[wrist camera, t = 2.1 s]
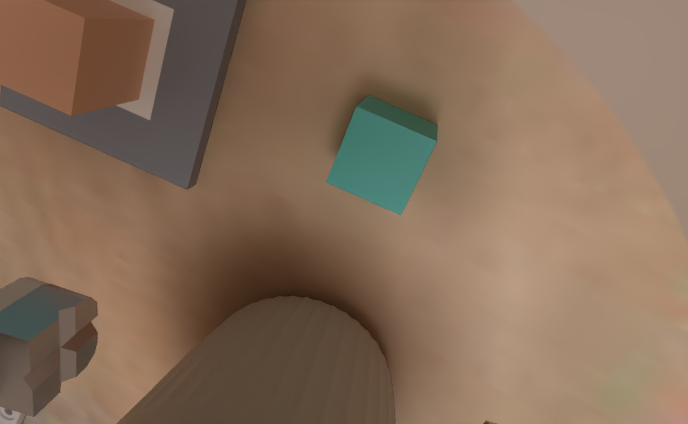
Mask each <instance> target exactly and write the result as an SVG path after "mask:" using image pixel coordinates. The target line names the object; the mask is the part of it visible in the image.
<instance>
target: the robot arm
mask: <svg viewBox="0 0 688 424" xmlns="http://www.w3.org/2000/svg"><path fill="white" fill-rule="evenodd" d="M97 315H98V310H97V301H95V300H94V299H93V298H91V297H88V296H85V295H82V294H79V293H76V292H73V291H70V290H67V289H64V288H61V287H59V286H56V285H53V284H48V283H45V282H42V281H39V280H36V279H33V278H31V277H25V278H19V279H18V280H16V281H14V282H12V283H11V284H9V285H7V286H6V287H4V288H2V289H0V424H22V422H23V420H24V417H25V415H29V416H32V417H34V416H35V415H36V414H38V413H39V412H40V411H41V410H42V409H43V408H44V407H45V406H46V405H47V404H48V403H49V402H50V401H51V400H52V399H53V398H54V397H56V396H57V395H58V394H59V393H60V388H61V382H63V381H65V380H68V379H71V378H74V377H76V376H77V375H78V374H79V373H80V372H81V371H82V370H84V369H85V368H86V367H87V365H88V363H89V362H90V360H91V358H92V356H93V355H94V353H95V349H96V346H97V340H98V332H97V331H96V329H95V327H94V326H93V324H92V322H91V321H92V320H93V319H94V318H95V317H96V316H97ZM484 424H496V423H493V422H490V421H485V423H484Z"/></svg>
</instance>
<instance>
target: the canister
mask: <svg viewBox="0 0 688 424" xmlns="http://www.w3.org/2000/svg"><path fill="white" fill-rule="evenodd" d="M117 424H396V421H395V405H394V393H393V388H392V379H391V374H390V371H389V368H388V367H387V362H386V359H385V357H384V355H383V353H382V352H381V351H380V348H379V345H378V344H377V342H376V341H375V340H374V339H373V338H372V337H371V335H370V333H369V331H368V330H366V329H364V328H363V327H362V326H361V325H360V323H359V321H357V320H355V319H353V318H351V317H350V316H349V315H348V313H347V312H343V311H341V310H339V309H338V308H336V307H335V306H334V305H329V304H326V303H324V302H323V301H321V300H313V299H310V298H309V297H296V296H294V295H292V296H288V297H283V296H276V297H274V298H271V299H270V298H265V299H262V300H260V301H258V302H255V303H251V304H249V305H247V306H245V307H244V308H242V309H240V310H238V311H236V312H235V313H233V314H232V315H230V316H229V317H228V318H227V319H226V320H225V321H224V322H222V323H221V324H220V325H219V326H218V327H216V328H215V329H214V330H213V331H212V332H211V333H210V334H209V335H208V336H207V337H206V338H204V339H203V340H202V341H201V342H200V343H199V344H198V345H197V346H196V347H195V348H194V349H193V350H191V351H190V352H189V353H188V354H187V355H186V356H185V357H184V358H183V359H182V360H181V361H180V362H179V363H178V364H177V365H176V366H175V367H174V368H173V369H172V370H171V371H170V372H169V373H168V374H167V375H166V376H165V377H164V378H163V379H162V380H161V381H160V382H159V383H158V384H157V385H156V386H155V387H154V388H153V389H152V390H151V391H150V392H149V393H148V394H147V395H146V396H145V397H144V398H142V399H141V400H140V401H139V402H138V403H137V404H136V405H135V406H134V407H133V408H132V409H131V410H130V411H129V412H128V413H127V414H126V415H125V416H124V417H123V418H122V419H121V420H120V421H119V422H118V423H117Z"/></svg>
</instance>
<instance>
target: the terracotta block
mask: <svg viewBox="0 0 688 424" xmlns="http://www.w3.org/2000/svg"><path fill="white" fill-rule="evenodd" d="M154 22H155V20H154V19H151V18H149V17H147V16H145V15H142V14H140V13H138V12H135V11H133V10H131V9H129V8H126V7H124V6H122V5H119V4H117V3H115V2H113V1H110V0H0V84H1V85H3V86H5V87H8V88H10V89H12V90H14V91H17V92H19V93H21V94H23V95H26V96H28V97H30V98H32V99H35V100H37V101H39V102H41V103H44V104H46V105H48V106H50V107H52V108H55V109H57V110H59V111H61V112H64V113H66V114H68V115H70V116H72V115H77V114H81V113H85V112H89V111H93V110H97V109H102V108H106V107H110V106H114V105H118V104H122V103H127V102H131V101H135V100H139V96H140V91H141V86H142V81H143V76H144V71H145V67H146V62H147V57H148V52H149V47H150V42H151V37H152V32H153V27H154Z"/></svg>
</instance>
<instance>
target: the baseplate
mask: <svg viewBox="0 0 688 424" xmlns="http://www.w3.org/2000/svg"><path fill="white" fill-rule="evenodd" d="M110 1H113V2H115V3H117V4H119V5H122V6H124V7H126V8H129V9H131V10H133V11H135V12H138V13H140V14H142V15H145V16H147V17H149V18H151V19H154V20H155V22H154V27H153V32H152V37H151V42H150V47H149V52H148V57H147V62H146V67H145V71H144V76H143V81H142V86H141V91H140V96H139V100H135V101H131V102H127V103H122V104H118V105H114V106H110V107H106V108H102V109H97V110H93V111H89V112H85V113H81V114H77V115H72V116H70V115H68V114H66V113H64V112H61V111H59V110H57V109H55V108H52V107H50V106H48V105H46V104H44V103H41V102H39V101H37V100H35V99H32V98H30V97H28V96H26V95H23V94H21V93H19V92H17V91H14V90H12V89H10V88H8V87H5V86H3V85H1V93H0V106H1V107H4V108H6V109H8V110H10V111H12V112H15V113H17V114H19V115H21V116H24V117H26V118H28V119H30V120H33V121H35V122H37V123H39V124H42V125H44V126H46V127H48V128H50V129H53V130H55V131H57V132H59V133H62V134H64V135H66V136H68V137H71V138H73V139H75V140H77V141H79V142H82V143H84V144H86V145H88V146H91V147H93V148H95V149H97V150H100V151H102V152H104V153H106V154H108V155H111V156H113V157H115V158H117V159H120V160H122V161H124V162H126V163H129V164H131V165H133V166H135V167H138V168H140V169H142V170H144V171H146V172H149V173H151V174H153V175H155V176H158V177H160V178H162V179H164V180H167V181H169V182H171V183H173V184H175V185H178V186H180V187H182V188H184V189H189V188H191V187H192V186H194V185H195V184H196V181H197V177H198V174H199V170H200V166H201V163H202V159H203V155H204V152H205V148H206V144H207V141H208V137H209V133H210V130H211V126H212V123H213V119H214V115H215V112H216V108H217V104H218V101H219V97H220V93H221V90H222V86H223V82H224V79H225V75H226V71H227V68H228V64H229V60H230V57H231V53H232V50H233V46H234V42H235V39H236V35H237V31H238V28H239V24H240V20H241V17H242V13H243V9H244V6H245V2H246V0H110Z"/></svg>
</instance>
